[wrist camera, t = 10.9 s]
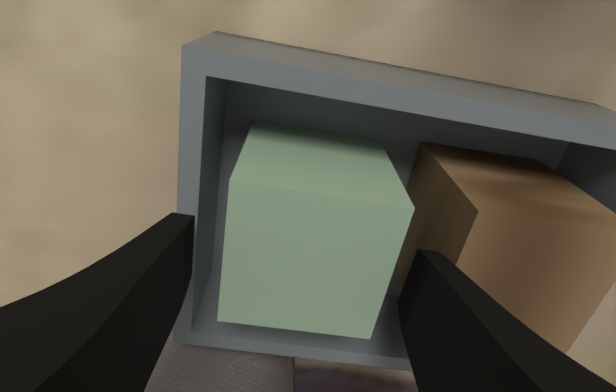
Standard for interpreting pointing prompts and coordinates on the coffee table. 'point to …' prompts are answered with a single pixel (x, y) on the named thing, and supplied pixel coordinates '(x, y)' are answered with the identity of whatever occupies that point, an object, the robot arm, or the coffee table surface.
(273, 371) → the pillar candle
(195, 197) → the tray
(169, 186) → the coffee table surface
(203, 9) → the coffee table surface
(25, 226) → the coffee table surface
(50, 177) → the coffee table surface
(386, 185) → the sage block
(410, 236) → the walnut block
